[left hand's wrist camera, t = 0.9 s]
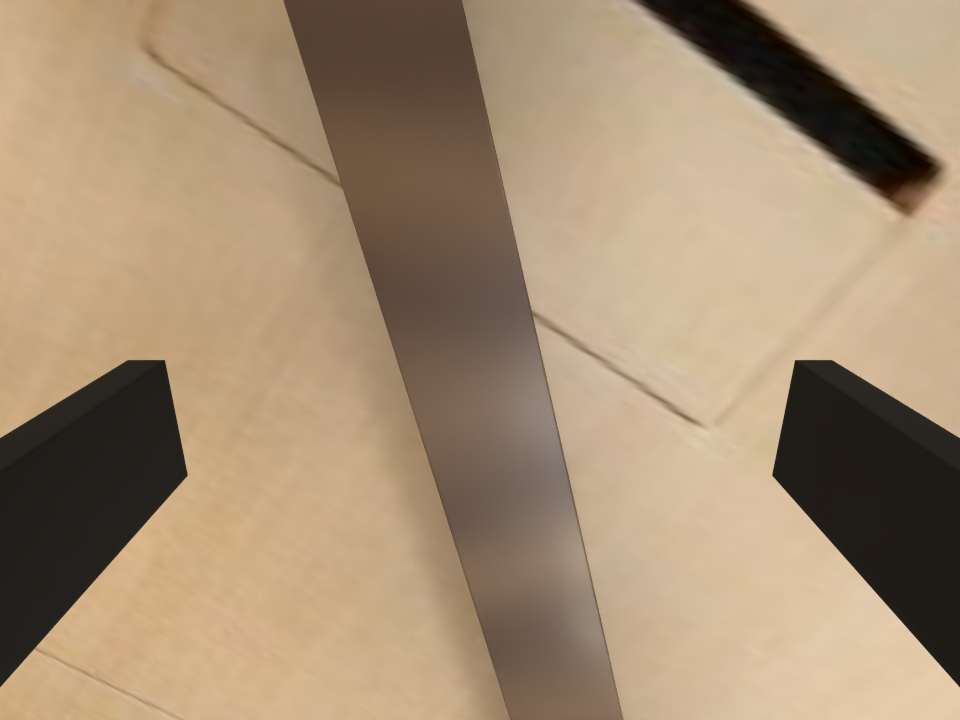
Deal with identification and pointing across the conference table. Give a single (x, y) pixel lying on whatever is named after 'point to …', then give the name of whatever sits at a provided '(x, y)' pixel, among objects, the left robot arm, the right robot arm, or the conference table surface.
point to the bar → (462, 332)
